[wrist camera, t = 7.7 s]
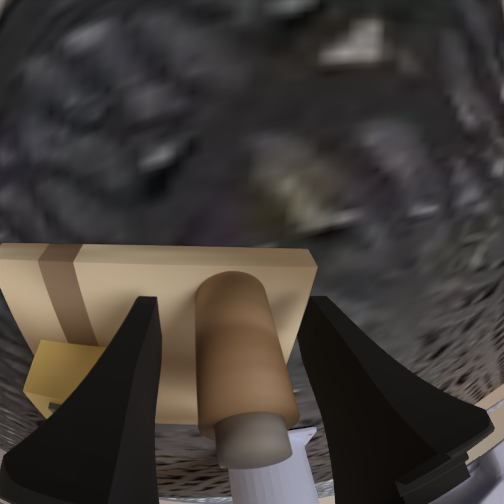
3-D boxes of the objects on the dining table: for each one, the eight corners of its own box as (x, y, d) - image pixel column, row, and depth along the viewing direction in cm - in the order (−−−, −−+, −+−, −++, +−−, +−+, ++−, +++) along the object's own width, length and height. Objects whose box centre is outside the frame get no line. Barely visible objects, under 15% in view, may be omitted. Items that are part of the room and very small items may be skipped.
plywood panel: (262, 405, 18) (265, 420, 17) (76, 399, 16) (73, 413, 15) (307, 248, 11) (317, 266, 10) (2, 242, 9) (-11, 258, 8)
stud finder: (135, 401, 14) (132, 453, 11) (73, 394, 13) (64, 442, 11) (115, 347, 11) (104, 413, 9) (41, 339, 11) (20, 396, 8)
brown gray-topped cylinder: (261, 323, 12) (295, 466, 7) (195, 324, 11) (202, 474, 6) (270, 271, 10) (322, 434, 5) (194, 270, 10) (198, 447, 5)
